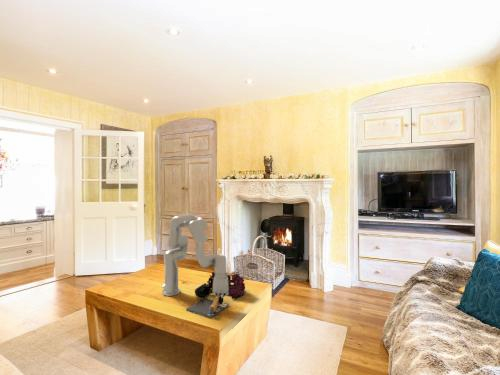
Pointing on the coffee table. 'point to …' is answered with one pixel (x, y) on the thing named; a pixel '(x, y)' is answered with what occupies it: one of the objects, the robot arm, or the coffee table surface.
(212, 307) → the bar
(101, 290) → the coffee table surface
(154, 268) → the coffee table surface
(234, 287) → the flower arrangement
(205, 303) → the tray
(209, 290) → the dark grey toy house
